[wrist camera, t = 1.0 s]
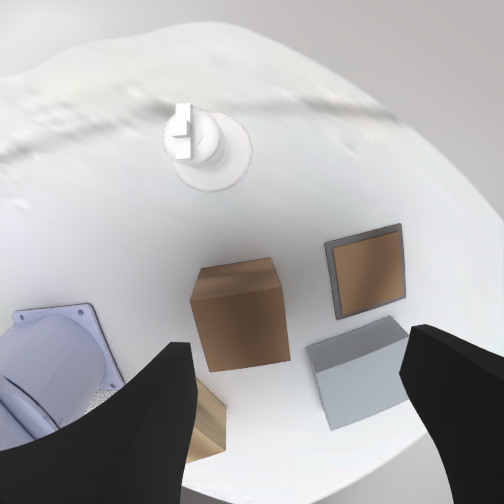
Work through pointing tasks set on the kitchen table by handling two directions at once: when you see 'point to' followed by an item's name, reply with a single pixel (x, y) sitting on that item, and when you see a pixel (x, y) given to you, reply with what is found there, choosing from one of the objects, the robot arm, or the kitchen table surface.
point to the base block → (360, 371)
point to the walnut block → (240, 315)
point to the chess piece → (206, 148)
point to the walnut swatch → (367, 270)
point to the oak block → (207, 426)
